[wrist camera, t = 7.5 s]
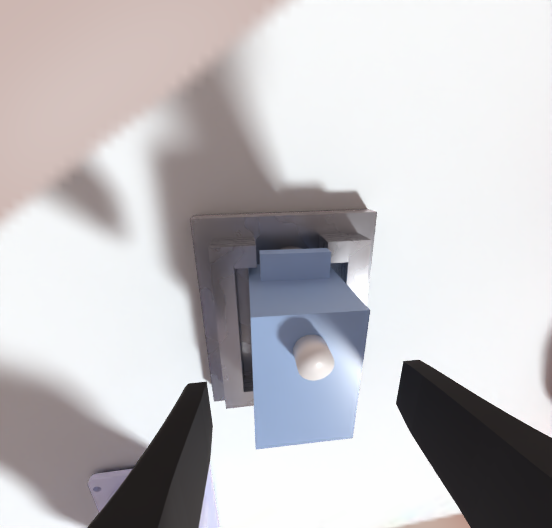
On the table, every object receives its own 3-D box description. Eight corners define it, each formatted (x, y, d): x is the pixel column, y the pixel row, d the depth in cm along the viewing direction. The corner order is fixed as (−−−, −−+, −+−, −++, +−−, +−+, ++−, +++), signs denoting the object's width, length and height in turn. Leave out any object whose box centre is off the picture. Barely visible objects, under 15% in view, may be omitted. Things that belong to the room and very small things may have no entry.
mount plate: (351, 374, 17) (368, 405, 15) (215, 388, 16) (211, 424, 14) (367, 209, 14) (393, 217, 11) (193, 215, 13) (183, 225, 10)
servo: (318, 373, 16) (357, 478, 10) (252, 378, 15) (257, 492, 10) (327, 239, 13) (387, 287, 8) (247, 241, 13) (249, 294, 7)
